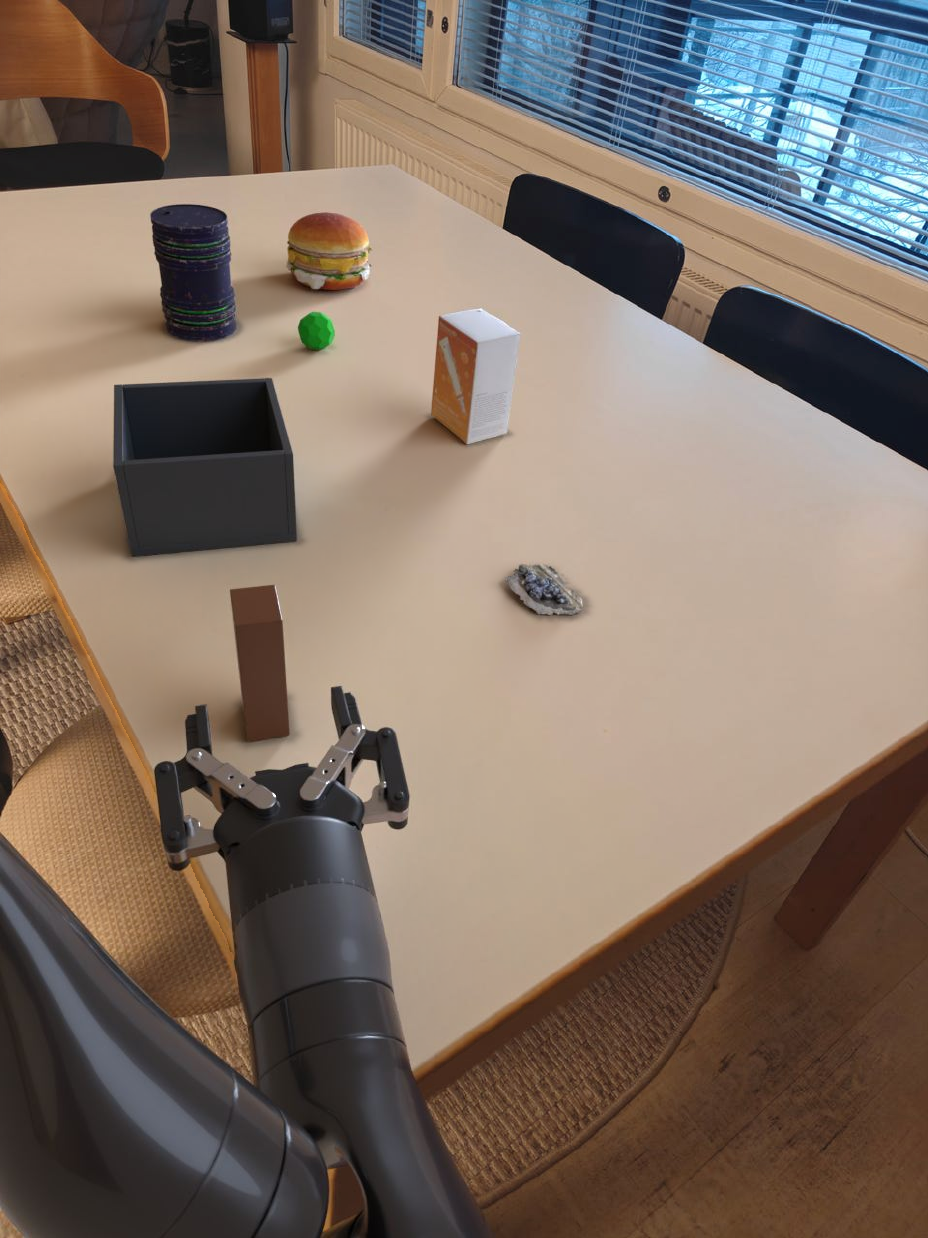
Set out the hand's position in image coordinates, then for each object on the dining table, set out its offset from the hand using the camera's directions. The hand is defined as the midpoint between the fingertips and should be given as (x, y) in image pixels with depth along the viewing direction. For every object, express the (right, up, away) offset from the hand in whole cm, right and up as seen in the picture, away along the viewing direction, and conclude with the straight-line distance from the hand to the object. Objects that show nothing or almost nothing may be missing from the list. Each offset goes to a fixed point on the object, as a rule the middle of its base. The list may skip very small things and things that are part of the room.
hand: (270, 704), depth 56 cm
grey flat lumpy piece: (+21, +8, +28) cm, 35 cm away
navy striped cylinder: (-25, +47, +66) cm, 84 cm away
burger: (-9, +60, +84) cm, 103 cm away
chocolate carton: (-3, -2, +12) cm, 13 cm away
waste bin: (-14, +17, +33) cm, 40 cm away
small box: (+13, +29, +51) cm, 61 cm away
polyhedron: (-8, +43, +64) cm, 78 cm away
